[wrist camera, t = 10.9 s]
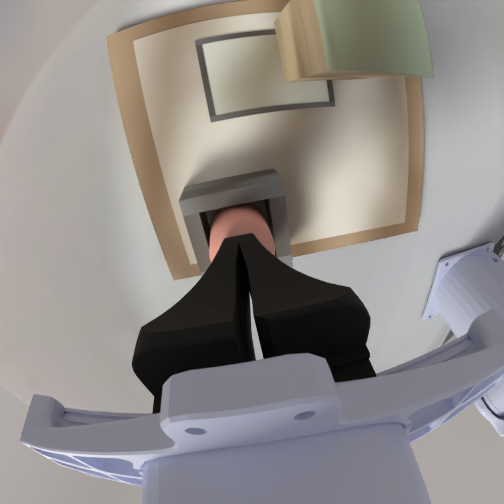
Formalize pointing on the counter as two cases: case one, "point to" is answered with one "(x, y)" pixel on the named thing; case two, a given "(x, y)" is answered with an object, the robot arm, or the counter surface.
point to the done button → (239, 226)
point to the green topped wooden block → (352, 40)
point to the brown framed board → (261, 137)
